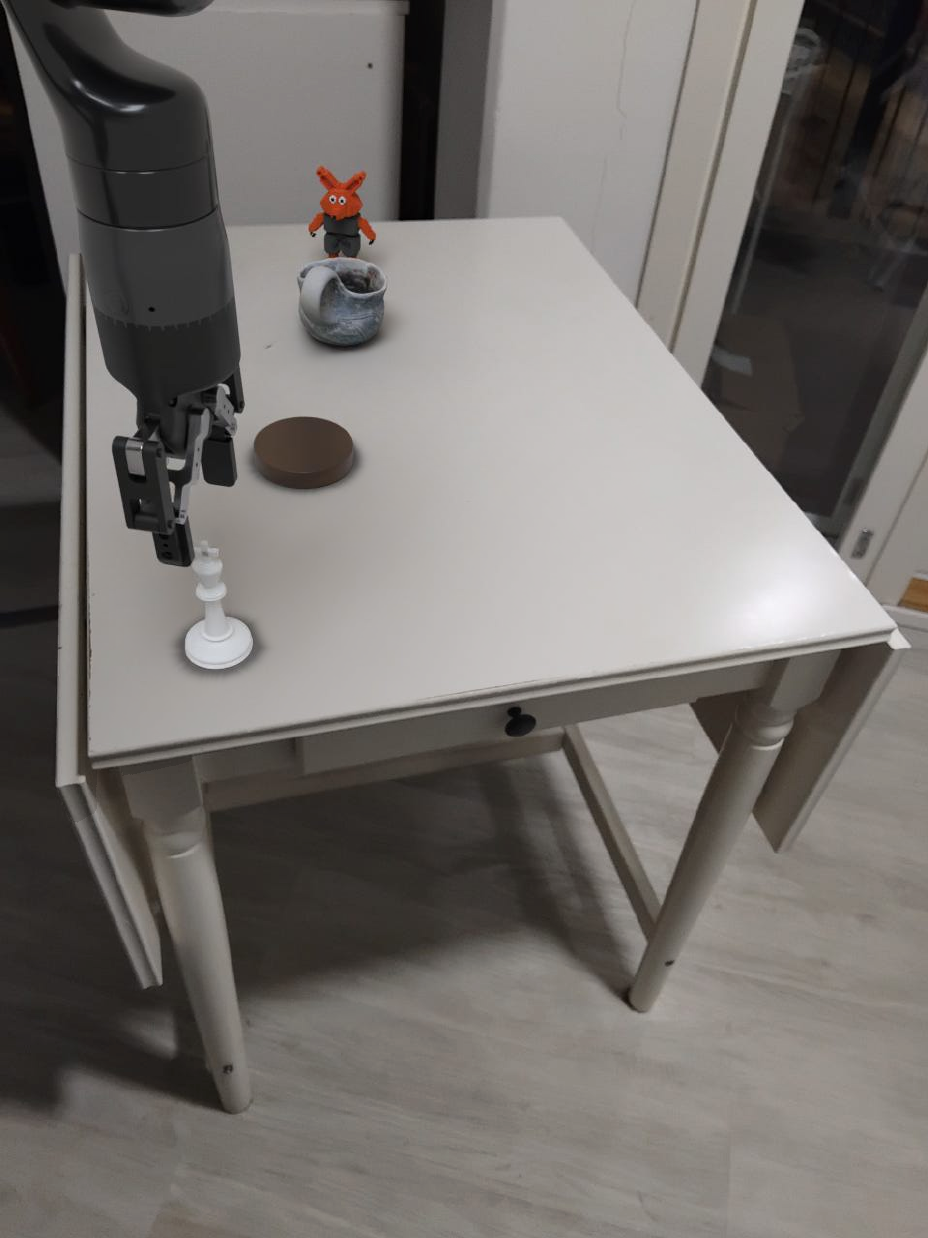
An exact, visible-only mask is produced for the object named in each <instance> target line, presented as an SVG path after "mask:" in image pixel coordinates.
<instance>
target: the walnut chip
mask: <svg viewBox="0 0 928 1238" xmlns="http://www.w3.org/2000/svg"><path fill="white" fill-rule="evenodd" d="M253 453H254V463H255V467H256V469H257V470H258V472H259V473H260V474H261V476H263V477H264V478H265V479H267V480H268V481H270V482H272V483H274V484H276V485H279V486H282V487H285V488H291V489H304V490H305V489H317V488H322V487H325V486H329V485H331V484H335V483H336V482H338V481H340V480H341V479H343V478H344V477H345V476H347V474H348V473H349V472H350V471H351V469H352V467H353V465H354V441H353V438H352V436H351V434H350V433H349V432H348V430H346V428H344V427H343V426H341V425H340V424H338V423H336V422H334V421H332V420H329V419H326V418H321V417H317V416H305V415H304V416H292V417H291V416H290V417H286V418H282V419H278V420H275V421H273V422H270V423H269V424H267V425H266V426H264V427H262V428H261V429H260V431H259V432H258V433H257V434H256V436H255V438H254V441H253Z"/></svg>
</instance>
